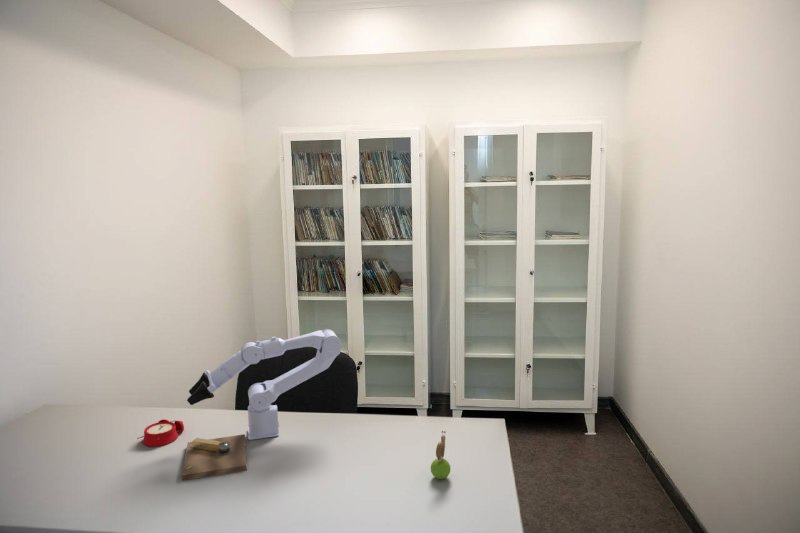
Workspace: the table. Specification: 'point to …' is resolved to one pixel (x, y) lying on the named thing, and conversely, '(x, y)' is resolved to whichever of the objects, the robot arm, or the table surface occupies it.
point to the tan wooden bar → (211, 445)
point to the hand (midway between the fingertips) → (189, 398)
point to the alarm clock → (162, 433)
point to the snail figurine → (440, 461)
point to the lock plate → (215, 459)
